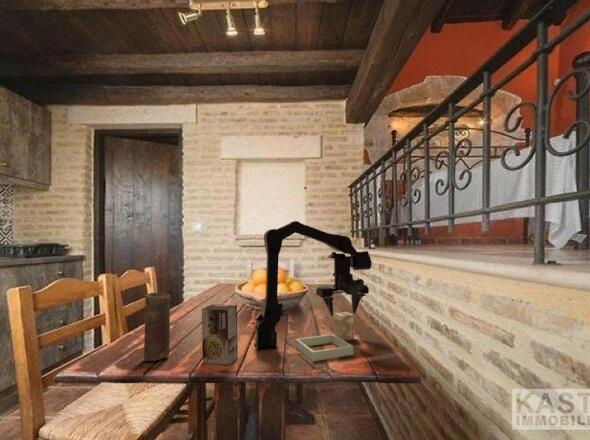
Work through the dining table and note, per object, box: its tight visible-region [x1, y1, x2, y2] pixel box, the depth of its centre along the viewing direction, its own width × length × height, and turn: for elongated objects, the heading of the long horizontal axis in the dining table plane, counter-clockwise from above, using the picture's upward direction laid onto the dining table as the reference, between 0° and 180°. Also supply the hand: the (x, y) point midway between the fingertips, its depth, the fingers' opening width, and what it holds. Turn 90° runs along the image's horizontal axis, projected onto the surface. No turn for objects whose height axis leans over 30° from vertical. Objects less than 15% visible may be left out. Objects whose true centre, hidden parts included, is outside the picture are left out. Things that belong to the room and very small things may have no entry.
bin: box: [295, 333, 354, 366], centre depth 106 cm, size 14×14×4 cm
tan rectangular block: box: [333, 311, 355, 339], centre depth 120 cm, size 5×5×8 cm
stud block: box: [332, 333, 360, 342], centre depth 120 cm, size 8×8×5 cm
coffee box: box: [201, 304, 239, 365], centre depth 103 cm, size 9×6×16 cm
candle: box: [143, 292, 171, 362], centre depth 105 cm, size 8×7×20 cm
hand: (343, 314), depth 120 cm, fingers open, 9 cm apart
